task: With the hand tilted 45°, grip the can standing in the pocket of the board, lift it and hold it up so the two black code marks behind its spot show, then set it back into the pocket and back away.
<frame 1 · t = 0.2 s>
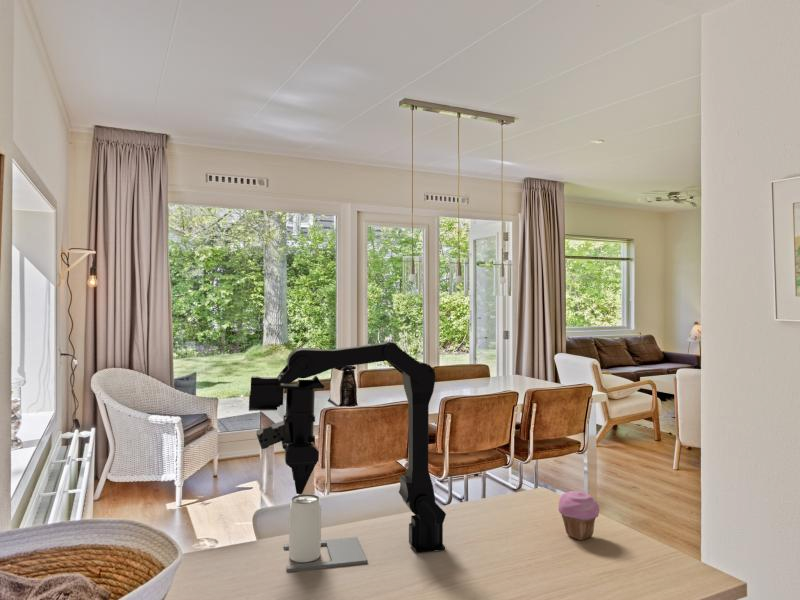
hand: (297, 486, 115), 15 cm above the counter, tool pointing down, fingers open, 9 cm apart
can: (304, 557, 116), on the counter
code board: (324, 554, 117), on the counter
cupcake: (578, 537, 127), on the counter
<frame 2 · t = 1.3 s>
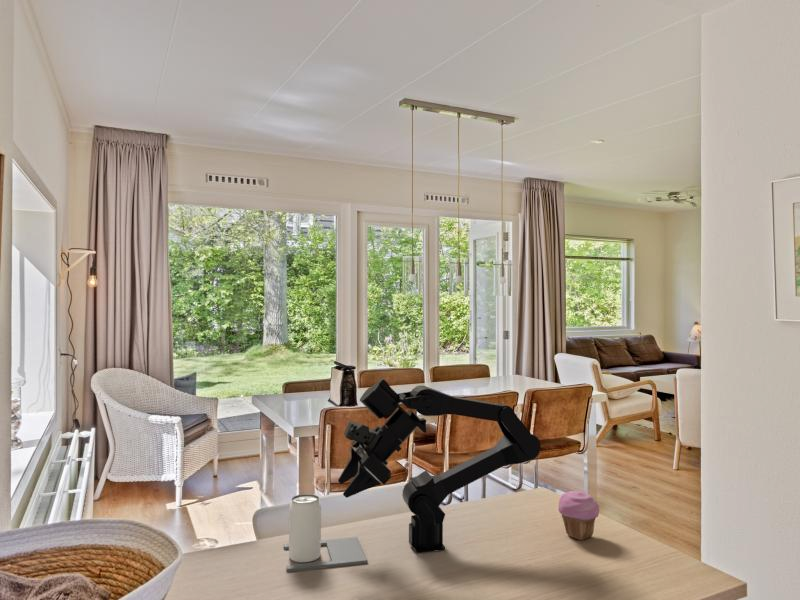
hand: (341, 488, 118), 13 cm above the counter, tool tilted 45°, fingers open, 9 cm apart
nothing on the counter moved.
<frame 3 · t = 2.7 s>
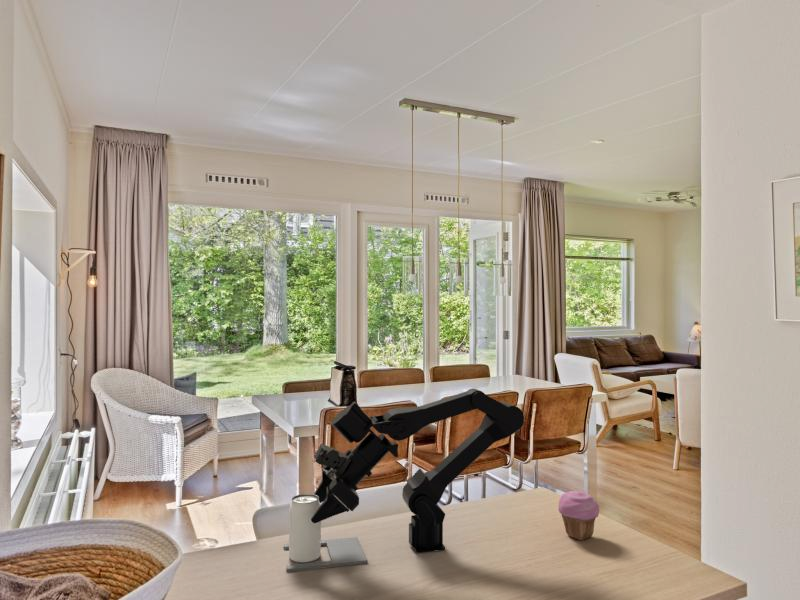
hand: (310, 513, 116), 9 cm above the counter, tool tilted 45°, fingers open, 9 cm apart
nothing on the counter moved.
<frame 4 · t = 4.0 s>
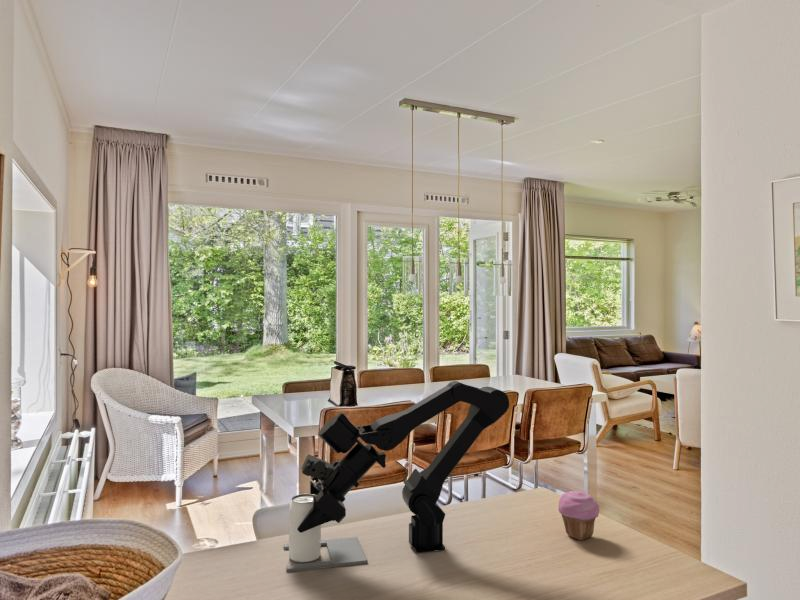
hand: (298, 524, 115), 7 cm above the counter, tool tilted 45°, fingers closed on can, 6 cm apart
can: (304, 557, 116), on the counter, touching gripper
everything else where it was.
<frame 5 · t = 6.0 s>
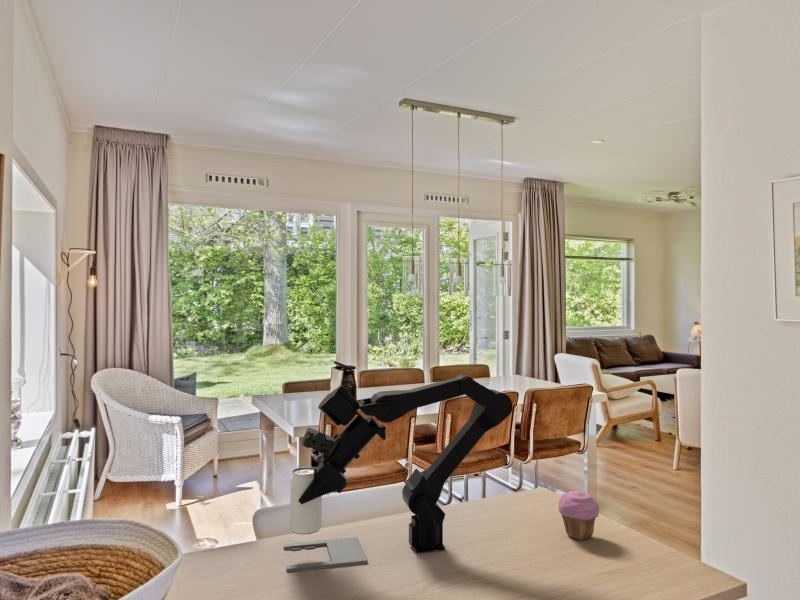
hand: (299, 497, 116), 12 cm above the counter, tool tilted 45°, fingers closed on can, 6 cm apart
can: (306, 530, 116), point 5 cm above the counter, touching gripper
everything else where it was.
when the fingers open (8 cm above the counter, at t = 8.2 s): can drops 1 cm, on the counter.
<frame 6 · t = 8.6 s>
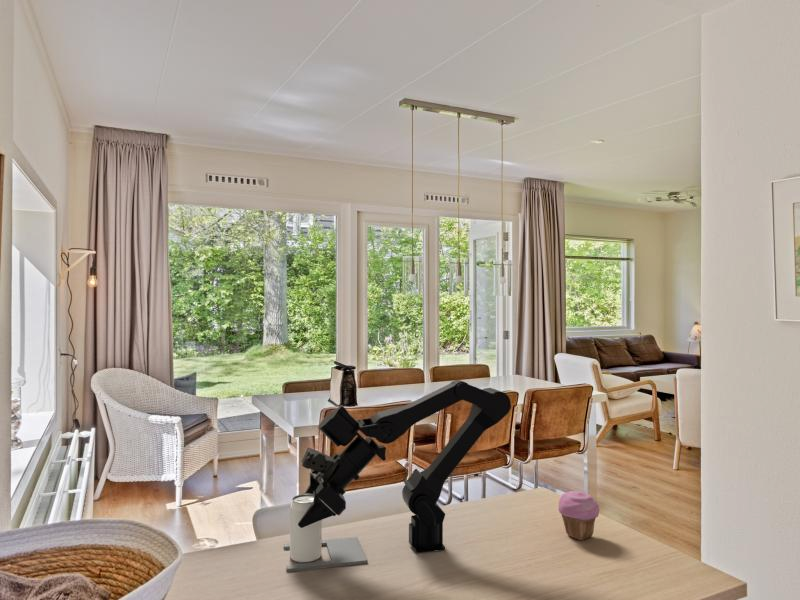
hand: (298, 517, 116), 8 cm above the counter, tool tilted 45°, fingers open, 9 cm apart
can: (305, 557, 116), on the counter
everything else where it was.
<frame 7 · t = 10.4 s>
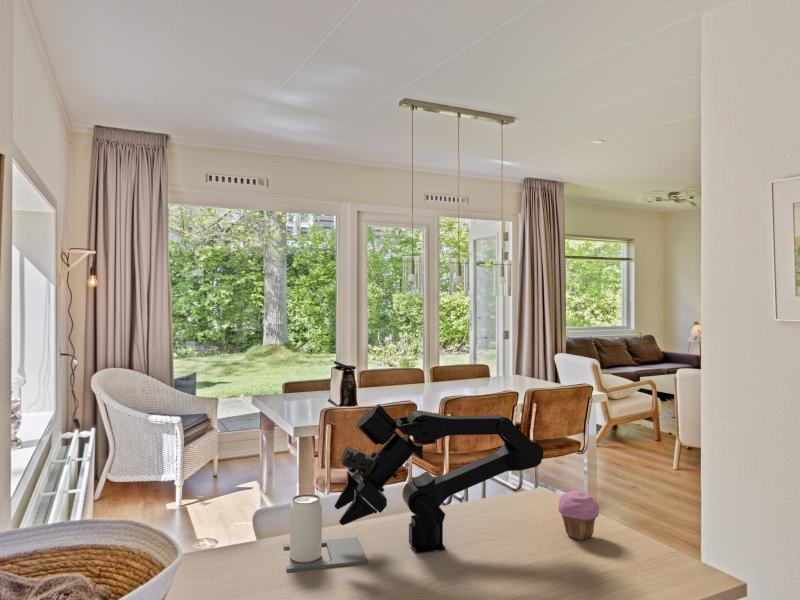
hand: (338, 515, 117), 8 cm above the counter, tool tilted 45°, fingers open, 9 cm apart
nothing on the counter moved.
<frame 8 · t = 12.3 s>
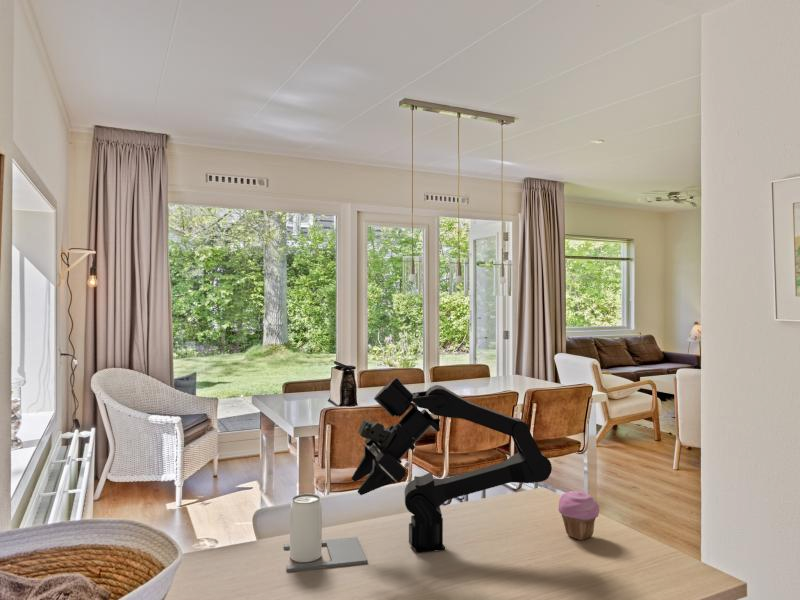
hand: (355, 486, 119), 14 cm above the counter, tool tilted 45°, fingers open, 9 cm apart
nothing on the counter moved.
at the end: can 0.2 cm from the target spot on the code board, point 0.0 cm above the code board's base; can tilted 0°; the gripper is holding nothing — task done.
